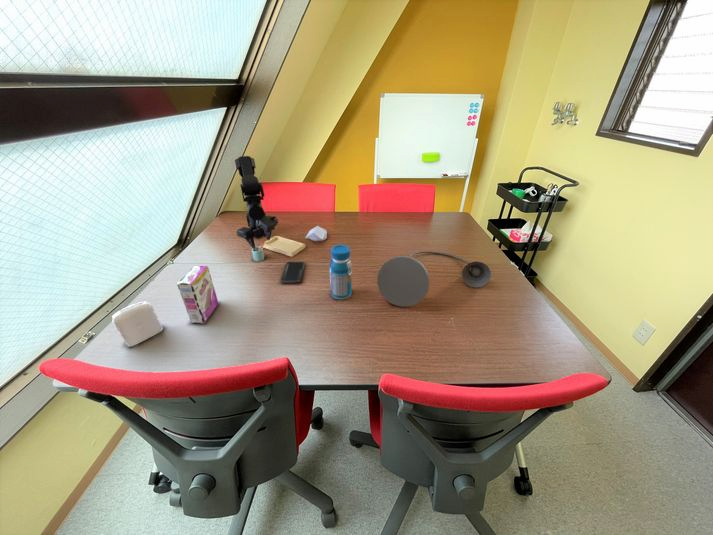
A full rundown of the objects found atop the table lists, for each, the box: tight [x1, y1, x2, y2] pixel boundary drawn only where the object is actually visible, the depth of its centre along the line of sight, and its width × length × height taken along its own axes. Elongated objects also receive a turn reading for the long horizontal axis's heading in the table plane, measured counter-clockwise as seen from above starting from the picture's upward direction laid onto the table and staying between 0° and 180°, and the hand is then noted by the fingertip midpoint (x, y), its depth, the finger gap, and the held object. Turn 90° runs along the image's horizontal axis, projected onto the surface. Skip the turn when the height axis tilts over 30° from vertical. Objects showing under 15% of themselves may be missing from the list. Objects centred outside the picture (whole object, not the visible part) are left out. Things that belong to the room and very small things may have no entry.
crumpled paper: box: [304, 225, 328, 242], centre depth 150 cm, size 9×7×13 cm
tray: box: [262, 235, 306, 258], centre depth 143 cm, size 19×11×2 cm, turn 62°
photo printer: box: [111, 300, 164, 348], centre depth 89 cm, size 10×4×12 cm, turn 140°
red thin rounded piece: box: [258, 241, 266, 251], centre depth 130 cm, size 7×1×10 cm, turn 62°
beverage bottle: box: [329, 244, 353, 300], centre depth 107 cm, size 8×8×20 cm
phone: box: [281, 261, 305, 284], centre depth 123 cm, size 8×1×15 cm
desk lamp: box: [377, 250, 492, 308], centre depth 120 cm, size 18×45×40 cm
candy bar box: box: [176, 265, 219, 324], centre depth 98 cm, size 11×5×16 cm, turn 178°
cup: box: [251, 246, 265, 262], centre depth 132 cm, size 5×5×5 cm
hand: (261, 244), depth 128 cm, fingers open, 9 cm apart
